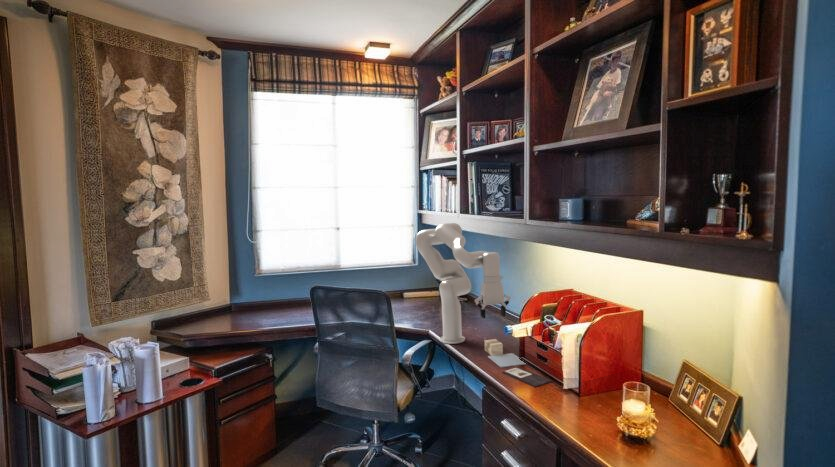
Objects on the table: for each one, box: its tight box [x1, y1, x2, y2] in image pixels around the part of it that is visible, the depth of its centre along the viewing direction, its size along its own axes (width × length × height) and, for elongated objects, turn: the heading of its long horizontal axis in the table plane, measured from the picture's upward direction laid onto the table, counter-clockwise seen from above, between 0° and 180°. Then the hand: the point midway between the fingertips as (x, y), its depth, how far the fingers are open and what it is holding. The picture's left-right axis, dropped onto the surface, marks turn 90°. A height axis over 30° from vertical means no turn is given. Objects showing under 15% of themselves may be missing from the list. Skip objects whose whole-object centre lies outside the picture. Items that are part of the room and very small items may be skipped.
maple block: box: [483, 338, 504, 356], centre depth 208 cm, size 8×6×5 cm
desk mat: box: [487, 352, 527, 368], centre depth 197 cm, size 14×12×1 cm
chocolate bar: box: [501, 366, 553, 388], centre depth 177 cm, size 9×1×18 cm
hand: (493, 316), depth 207 cm, fingers open, 9 cm apart
